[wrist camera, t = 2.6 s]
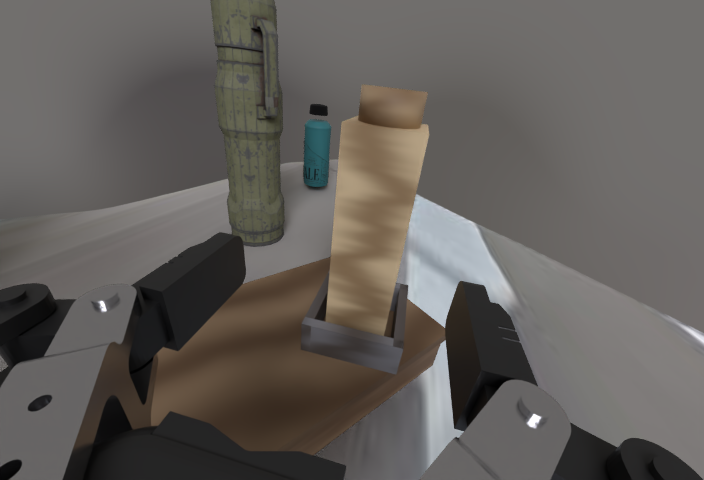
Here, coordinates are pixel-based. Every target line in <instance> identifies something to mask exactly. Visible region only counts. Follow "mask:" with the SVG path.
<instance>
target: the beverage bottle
mask: <svg viewBox="0 0 704 480" xmlns="http://www.w3.org/2000/svg"><path fill="white" fill-rule="evenodd" d="M310 114H313V115H321V116H327V115H328V112H327V106H325V105H321V104H311V106H310ZM330 135H331V126H330V124H329V123H328V122H327V121H324V120H317V119H310V120H308V121H307V122H306V124H305V141H304V142H305V145H304V147H305V148H304V164H303V166H304V168H303V177H304V178H303V179H304V183H305V184H306V185H309V186H314V187H322V186H326V185H327V183H328V175H329V174H328V173H329V172H328V170H329V149H330Z"/></svg>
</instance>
